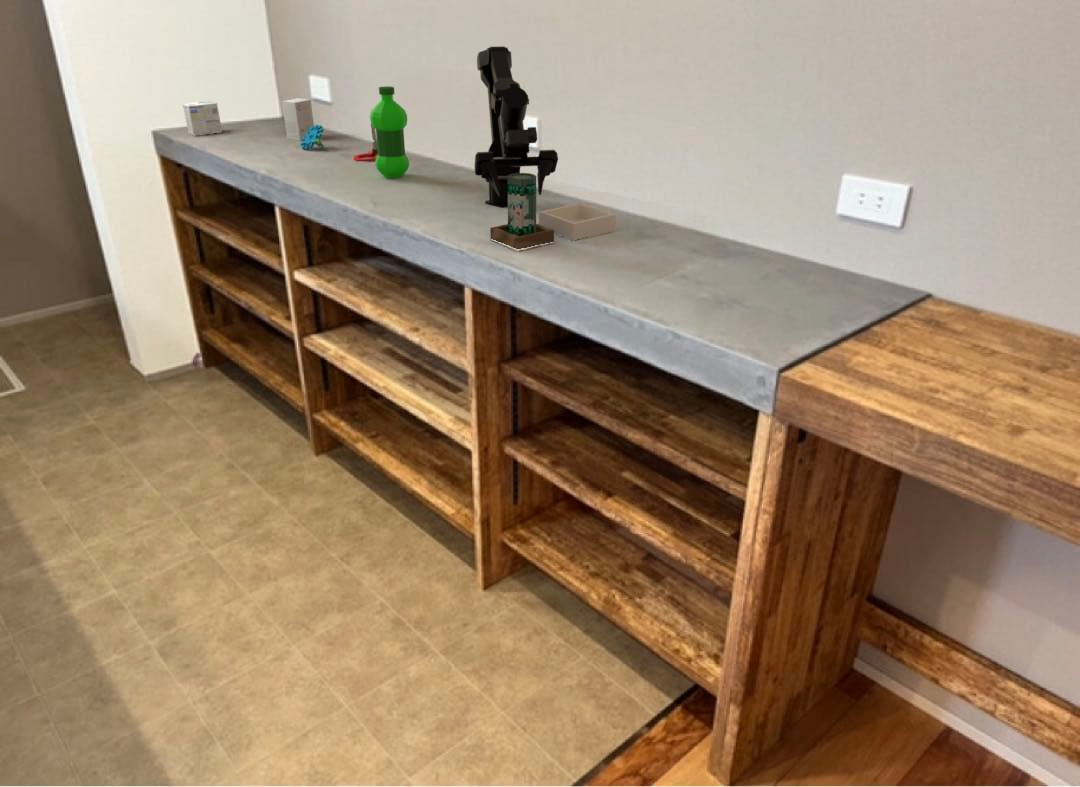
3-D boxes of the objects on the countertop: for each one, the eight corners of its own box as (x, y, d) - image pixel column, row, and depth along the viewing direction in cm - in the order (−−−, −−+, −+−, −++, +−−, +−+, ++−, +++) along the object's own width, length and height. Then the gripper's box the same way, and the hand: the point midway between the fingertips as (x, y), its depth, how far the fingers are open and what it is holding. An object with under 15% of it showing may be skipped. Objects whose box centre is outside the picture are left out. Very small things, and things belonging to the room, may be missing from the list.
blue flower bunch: (295, 142, 283) (314, 119, 282) (308, 152, 287) (327, 130, 287) (305, 152, 276) (325, 129, 275) (319, 163, 280) (338, 140, 279)
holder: (490, 240, 191) (490, 227, 190) (526, 232, 197) (526, 220, 195) (517, 251, 184) (517, 238, 182) (554, 243, 190) (554, 230, 188)
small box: (302, 135, 302) (297, 97, 296) (315, 137, 300) (311, 99, 294) (286, 139, 296) (281, 100, 290) (300, 140, 293) (295, 102, 287)
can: (505, 244, 189) (504, 178, 182) (514, 236, 194) (513, 172, 187) (530, 247, 187) (530, 180, 180) (539, 239, 192) (539, 174, 185)
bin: (538, 228, 200) (538, 211, 198) (579, 218, 207) (580, 203, 205) (573, 241, 191) (573, 224, 189) (615, 231, 198) (615, 214, 196)
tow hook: (366, 164, 263) (387, 158, 269) (360, 122, 256) (382, 117, 263) (348, 161, 267) (369, 154, 274) (342, 119, 261) (364, 114, 267)
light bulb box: (216, 130, 310) (211, 100, 305) (223, 133, 305) (217, 102, 300) (187, 133, 304) (181, 103, 299) (193, 136, 299) (188, 105, 294)
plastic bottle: (377, 172, 251) (369, 85, 239) (412, 172, 251) (406, 84, 240) (373, 180, 242) (365, 90, 230) (409, 180, 243) (403, 89, 231)
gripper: (474, 115, 183) (481, 176, 179) (557, 113, 186) (566, 173, 182) (471, 144, 194) (478, 203, 189) (550, 142, 197) (558, 200, 192)
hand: (520, 194), depth 188 cm, fingers open, 9 cm apart
